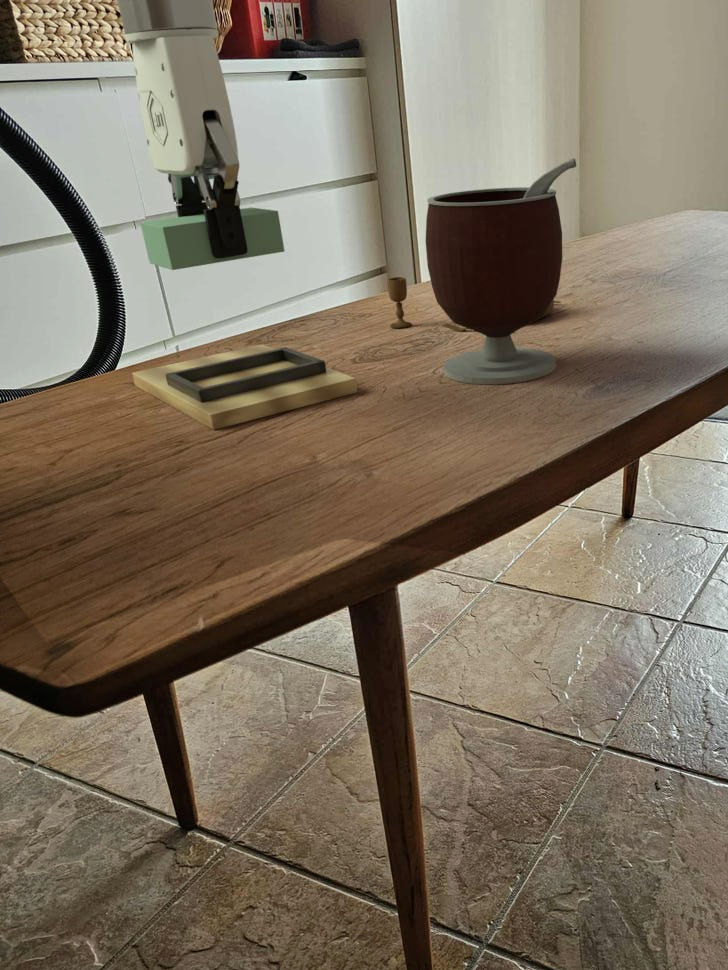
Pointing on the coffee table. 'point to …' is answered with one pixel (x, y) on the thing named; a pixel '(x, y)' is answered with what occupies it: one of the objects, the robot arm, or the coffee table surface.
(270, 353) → the wooden block holder
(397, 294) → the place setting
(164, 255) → the green rectangular block
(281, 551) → the coffee table surface
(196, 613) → the coffee table surface
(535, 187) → the mate gourd
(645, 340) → the coffee table surface
